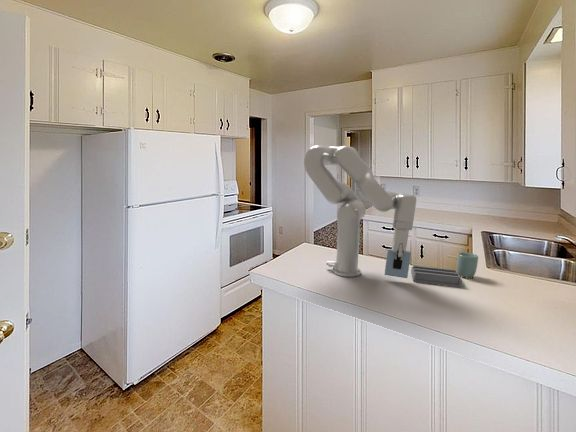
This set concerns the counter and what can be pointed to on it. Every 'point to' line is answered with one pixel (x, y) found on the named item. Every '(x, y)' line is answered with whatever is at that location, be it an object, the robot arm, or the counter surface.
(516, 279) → the counter surface
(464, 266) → the cup
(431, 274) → the rack
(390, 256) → the light blue upright panel
